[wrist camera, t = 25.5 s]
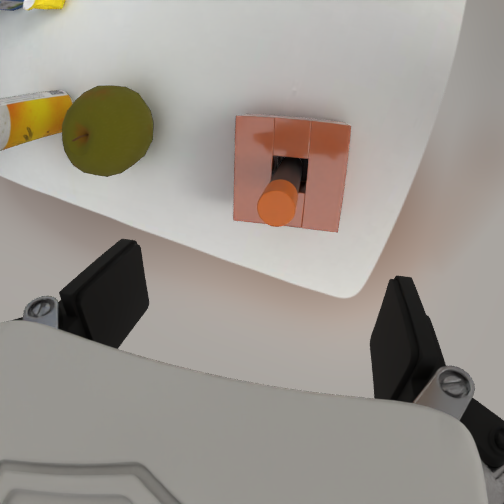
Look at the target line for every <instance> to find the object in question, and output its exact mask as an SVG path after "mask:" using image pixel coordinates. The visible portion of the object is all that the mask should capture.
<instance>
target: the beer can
mask: <svg viewBox="0 0 504 504" xmlns="http://www.w3.org/2000/svg"><path fill="white" fill-rule="evenodd" d="M72 104H73V101H72V99H71V97H70V96H69V95H68V94H67V93H66V92H65V91H62V90H56V91H47V92H39V93H32V94H25V95H18V96H12V97H7V98H1V99H0V151H1V150H4V149H7V148H10V147H13V146H16V145H19V144H22V143H26V142H29V141H32V140H36V139H39V138H42V137H46V136H50V135H53V134H57V133H61V132H62V123H63V120H64V118H65V115H66V112H67V110H68V109H69V108H70V107H71V105H72Z"/></svg>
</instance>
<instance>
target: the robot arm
mask: <svg viewBox="0 0 504 504" xmlns="http://www.w3.org/2000/svg"><path fill="white" fill-rule="evenodd" d="M59 294H60V297H61V300H60V301H59V302H58V300H57V299H56V298H54V297H52V296H42V297H39V298H36V299H34V300H32V301H31V302H30V303H29V304H28V305H27V306H26V307H25V310H24V315H23V317H22V318H18V319H15V320H11V321H6V322H2V323H0V504H504V421H503V420H502V419H501V418H499V417H498V416H497V415H495V414H494V413H493V412H491V411H490V410H489V409H487V408H486V407H485V406H483V405H482V404H481V403H479V402H478V401H476V400H475V399H474V398H472V397H473V394H474V391H475V387H474V382H473V380H472V378H471V377H470V375H469V374H468V373H467V372H465V371H464V370H463V369H461V368H459V367H455V366H446V365H445V362H444V358H443V355H442V352H441V349H440V346H439V343H438V340H437V337H436V334H435V331H434V328H433V326H432V323H431V320H430V318H429V316H427V315H426V313H425V311H424V308H423V305H422V303H421V300H420V298H419V295H418V292H417V290H416V287H415V285H414V282H413V280H412V278H411V277H404V276H396V277H395V278H394V279H390V280H389V283H388V286H387V290H386V293H385V296H384V299H383V303H382V306H381V309H380V312H379V315H378V318H377V321H376V324H375V327H374V330H373V332H372V335H371V339H370V351H371V361H372V372H373V382H374V398H375V399H373V398H364V397H355V396H342V395H334V394H326V393H318V392H309V391H302V390H295V389H288V388H282V387H276V386H269V385H264V384H258V383H253V382H247V381H242V380H236V379H232V378H227V377H222V376H218V375H213V374H209V373H204V372H200V371H196V370H191V369H187V368H183V367H179V366H175V365H171V364H168V363H164V362H160V361H157V360H153V359H149V358H146V357H142V356H139V355H135V354H132V353H129V352H125V351H122V350H119V349H118V347H119V346H120V345H121V344H122V342H123V341H124V339H125V338H126V337H127V335H128V334H129V333H130V331H131V330H132V329H133V327H134V326H135V325H136V323H137V322H138V321H139V319H140V318H141V317H142V315H143V314H144V313H145V311H146V310H147V309H148V306H149V298H148V292H147V286H146V280H145V274H144V267H143V261H142V253H141V247H140V245H138V244H137V242H136V241H134V240H128V239H121V240H120V241H118V242H117V243H116V244H115V245H114V246H112V247H111V248H110V249H109V250H108V251H106V252H105V253H104V254H102V255H101V256H100V257H99V258H98V259H97V260H95V261H94V262H93V263H92V264H91V265H90V266H88V267H87V268H86V269H85V270H84V271H83V272H81V273H80V274H79V275H78V276H77V277H76V278H75V279H73V280H72V281H71V282H70V283H69V284H68V285H67V286H66V287H64V288H63V289H62V290H61V291H60V292H59Z"/></svg>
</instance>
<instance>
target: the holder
mask: <svg viewBox="0 0 504 504" xmlns="http://www.w3.org/2000/svg"><path fill="white" fill-rule="evenodd" d="M350 134H351V126H350V125H349V124H347V123H345V122H338V121H330V120H322V119H313V118H303V117H292V116H279V115H264V114H243V115H237V116H236V126H235V162H234V209H233V220H235V221H245V222H254V223H263V224H266V223H265V222H264V221H263V220H262V219H261V218H260V217H259V215H258V212H257V203H258V200H259V198H260V197H261V195H262V193H263V191H264V190H265V188H266V186H267V185H268V184H269V182H270V180H271V179H272V177H273V175H274V173H275V172H276V170H277V168H278V156H283V157H294V158H303V159H308V158H309V159H308V170H307V181H306V180H301V181H300V186H299V192H298V201H297V206H296V211H295V215H294V217H293V219H292V220H291V221H290V222H289V223H288V224H286V225H284V226H291V227H299V228H301V227H302V228H306V229H314V230H322V231H330V232H338V227H339V221H340V214H341V207H342V200H343V193H344V186H345V178H346V170H347V162H348V153H349V144H350Z"/></svg>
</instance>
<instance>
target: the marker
mask: <svg viewBox="0 0 504 504" xmlns="http://www.w3.org/2000/svg"><path fill="white" fill-rule="evenodd" d="M302 170H303V163H302V161H301V160H300V159H299V158H294V157H285V158H283V160H282V161H281V163H280V165H279V166H278V168H277V170H276V172H275V173H274V175H273V177H272V179H271V180H270V182H269V184H268V185H267V186H266V188H265V190H264V191H263V193H262V195H261V197H260V198H259V200H258V203H257V212H258V215H259V217H260V218H261V219H262V220H263V221H264V222H265V223H266V224H268V225H270V226H275V227H279V226H284V225H286V224H288V223H289V222H290V221H291V220H292V219H293V217H294V215H295V211H296V206H297V201H298V192H299V186H300V181H301V176H302Z"/></svg>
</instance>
